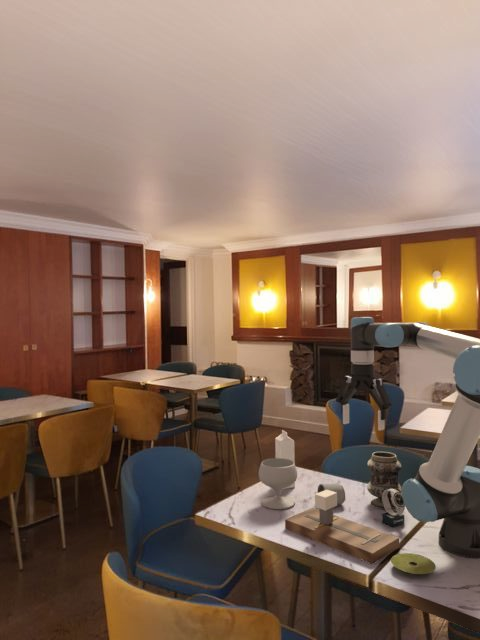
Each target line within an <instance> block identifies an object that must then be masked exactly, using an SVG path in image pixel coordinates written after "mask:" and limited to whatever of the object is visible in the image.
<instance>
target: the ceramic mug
mask: <svg viewBox="0 0 480 640" xmlns="http://www.w3.org/2000/svg"><path fill="white" fill-rule="evenodd" d="M324 490H330V491H333V492H336V493H337V506H340V505H342V504H344V503H345V501H346V492H345V488H344V486H343V485H341V484H340V483H319V485H318V486H317V493H319V492H322V491H324ZM317 493H316V494H317Z"/></svg>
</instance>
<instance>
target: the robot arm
mask: <svg viewBox="0 0 480 640" xmlns="http://www.w3.org/2000/svg"><path fill="white" fill-rule="evenodd" d="M349 329H350V362H351V365H350V373H351V375H345V376H344V377H343V378H342V379H343V380H342V384H341V386H340V390H339V391H338V393H337V396H336V398H335V402H336V403H339V404H340V412H341V414H342V424H343V425H347V424H350V404H349V401H350V400H351V399H352V397H353V396H354V395H355V393H357V392H363V393H365V392H367V393H368V394H369V396H370V397H371V398H372V399H373V401H374V402H375V404H376V406H377V407H378V408H379V409H378V410H377V431H384V430H385V429H386V427H385V426H386V425H385V422H386V420H387V418H388V416H387V411H388V409H389V410H390V409H392V408H393V404H392V402H391V400H390V397H389V395H388V393H387V390H386V388H385V386H384V380H383V378H377V379H375V364H374V362H375V348H374V347H384V348H395V347H405V346H408V347H409V346H412V347H415V348H419V349H422V350H426V351H429V352H431V353H435V354H438V355H441V356H444V357H448V358H451V359H455V360H454V363H453V366H452V373H453V375H454V376H453V379H454V382H455V386H454V387H455V390H456V392H457V396H456V398H455V401H454V403H453V406H452V407H451V410H450V412H449V414H448V417H447V418H446V421H445V424H444V425H443V428H442V431H441V433H440V435H439V436H438V439H437V442H436V444H435V447H434V449H433V451H432V453H431V456H430V458H429V460H428V461H427V462H424V463H422V464H420V465H419V469H418V470H417V473H416V474H415V475H416V476H415V477H414V478H408V479H407V480H406V481H404V482H403V484H402V485H401V487H402V493H401V494H402V498H403V501H404V504H405V508H406V510H407V511H408V513H409V515H411V516H412V518H413V519H414V520H416V521H418V522H420V523H434V522H436V521H439V520H442V523H441V525H440V528H439V532H438V544H439V545H440V547H442V548H443V549H444V550H446V551H448V552H450V553H452V554H454V555H457V556H462V557H466V558H473V559H474V558H477V559H478V558H479V559H480V468H478V467H474V466H471V465H467V464H468V462H469V459H470V457H471V456H472V453H473V451H474V449H475V448H476V445H477V443H478V441H479V439H480V338H477V337H474V336H470V335H465V334H463V333H458V332H454V331H450V330H445V329H442V328H438V327H434V326H431V325H430V324H429V323H427V322H421V321H420V322H419V321H414V322H375V321H374V317H372V316H360V317H359V316H358V317H357V316H355V317H352V318H351V320H350V328H349ZM351 383H352V385H351V386H350V384H351ZM349 387H350V388H349ZM375 387H376V388H375ZM348 389H349V390H348Z"/></svg>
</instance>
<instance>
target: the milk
mask: <svg viewBox="0 0 480 640" xmlns="http://www.w3.org/2000/svg"><path fill="white" fill-rule="evenodd" d="M274 440H275V441H274V443H275V444H274V445H275V458H283V459H288V460H291V461H293V462H294V464H295V440H294V439H293V438H291V437H289V436H288V432H287V431H285V430H283V429H281V433H280V434H279V435H278V436H276V437H275V438H274ZM295 483H296V481H295V482H294V483H293V484H292V485H290V486H288V487H286V488H284V489H283V490H286V489H295V487H296V484H295Z"/></svg>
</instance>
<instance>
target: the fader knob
mask: <svg viewBox="0 0 480 640" xmlns="http://www.w3.org/2000/svg"><path fill="white" fill-rule="evenodd" d="M337 506H338V505H337V493H336V492H333V491H330V490H324V491H322V492H319V493H315V494H314V508H315V509H318V510H319V517H320V523H323V524H326V525H328V524H331V523H333V515H334V508H335V507H337Z"/></svg>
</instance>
